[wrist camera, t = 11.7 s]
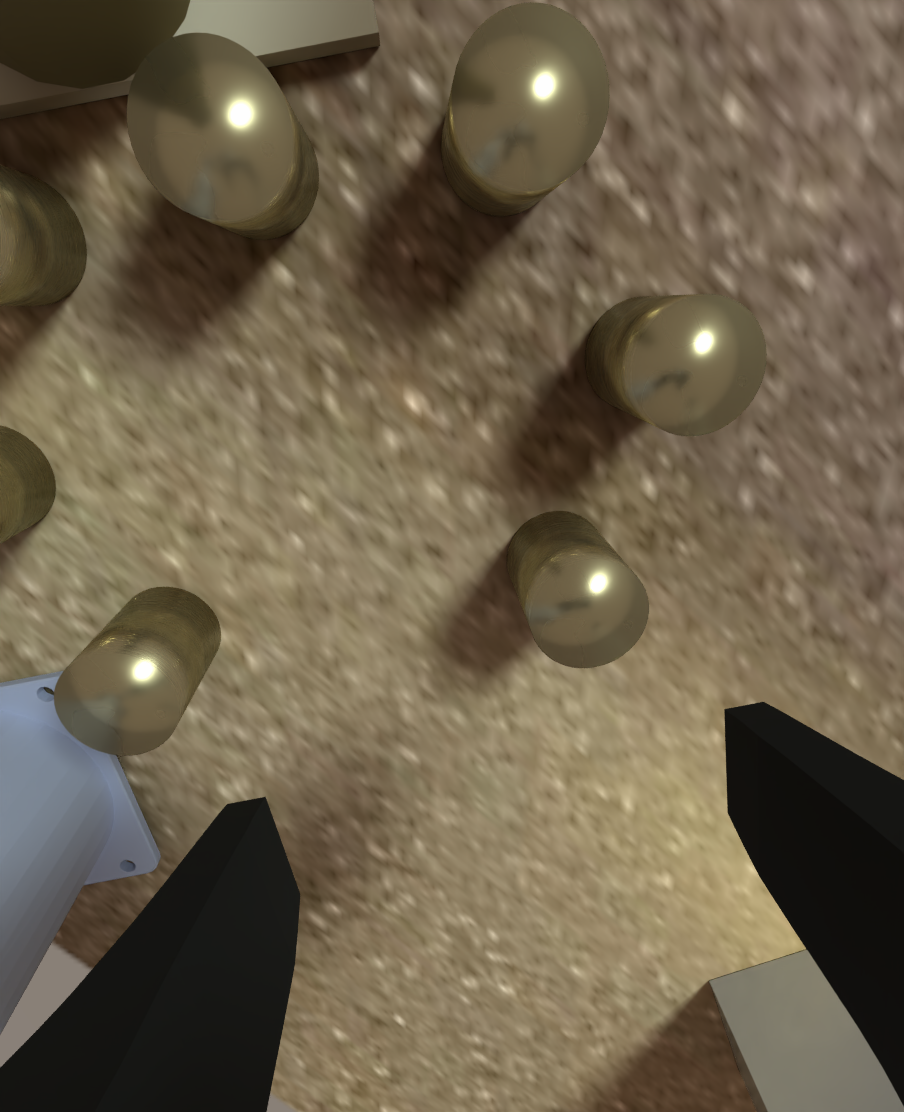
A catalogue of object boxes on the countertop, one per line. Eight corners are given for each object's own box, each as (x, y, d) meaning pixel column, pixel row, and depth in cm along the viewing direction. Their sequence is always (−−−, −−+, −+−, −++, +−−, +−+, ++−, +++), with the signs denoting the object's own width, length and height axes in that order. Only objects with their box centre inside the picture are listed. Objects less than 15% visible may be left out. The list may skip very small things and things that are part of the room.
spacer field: (46, 700, 21) (-34, 787, 17) (-201, 184, 15) (-393, 145, 12) (701, 574, 21) (767, 634, 17) (678, 14, 15) (765, -80, 12)
